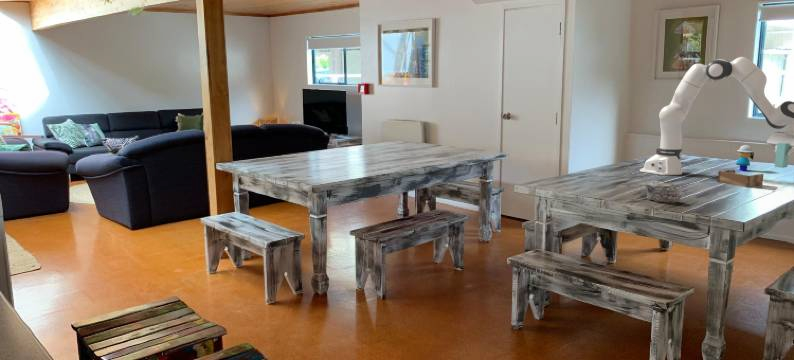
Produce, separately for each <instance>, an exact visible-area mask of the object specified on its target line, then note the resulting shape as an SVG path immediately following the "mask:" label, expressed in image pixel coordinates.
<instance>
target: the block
mask: <svg viewBox="0 0 794 360" xmlns="http://www.w3.org/2000/svg"><path fill="white" fill-rule="evenodd" d="M789 145H790V143H777V149H776V148H775V150H776V154H775V160H774V168H780V169H781V168H782V169H783V168H788V166H789V165H788V163H789V157H790V156H787V155H786V154H785V153H786V151H789V150H790V149H789V148H790V146H789Z"/></svg>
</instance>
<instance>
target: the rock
mask: <svg viewBox="0 0 794 360" xmlns="http://www.w3.org/2000/svg"><path fill="white" fill-rule="evenodd" d="M644 185H645V187H646V199H649V200H652V201H654V202H658V203H669V204H674V203H676V202H680V200H681V199H682V195H681V194H680V192H679V190H678V188H677V186H676V185H675V184H673V183H671V182H670V183H663V182H657V181H656V182H652V181H651V182H645V184H644Z"/></svg>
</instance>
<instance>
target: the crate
mask: <svg viewBox="0 0 794 360" xmlns="http://www.w3.org/2000/svg"><path fill="white" fill-rule="evenodd" d="M717 172H718V173H717V183H721V184H726V185H732V186H735V187H736V186H738V187H744V188H754V187H757V186H759V185H763V186H764V184H763V182H764V173H757V174H750V175H746V174H739V173H736V169H734V168H732V169H725V170H719V171H717Z"/></svg>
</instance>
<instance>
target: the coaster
mask: <svg viewBox="0 0 794 360" xmlns="http://www.w3.org/2000/svg"><path fill="white" fill-rule="evenodd" d="M755 189H759V190H760V189H761V190H768V191H772V193H774V192H775V190H776V189H778V186H771V185H764V184H763V185H759V186H755Z"/></svg>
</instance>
